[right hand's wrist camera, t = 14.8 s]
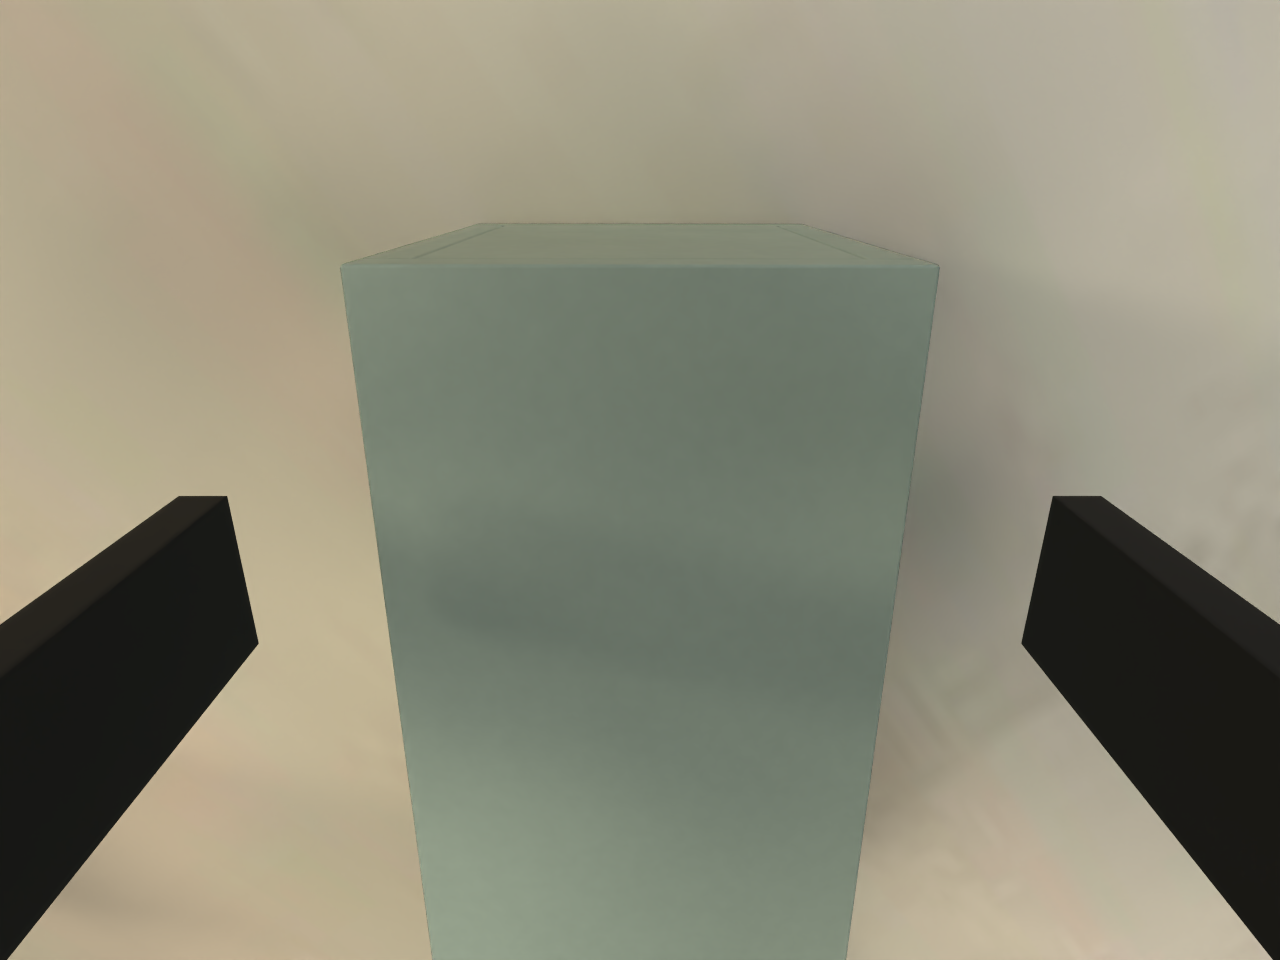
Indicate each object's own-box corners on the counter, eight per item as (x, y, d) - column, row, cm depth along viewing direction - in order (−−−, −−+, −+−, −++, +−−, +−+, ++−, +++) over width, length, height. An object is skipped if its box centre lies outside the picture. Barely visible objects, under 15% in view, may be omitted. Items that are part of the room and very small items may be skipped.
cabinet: (765, 748, 31) (833, 1061, 20) (514, 748, 31) (444, 1061, 20) (803, 223, 24) (941, 264, 13) (477, 223, 24) (337, 263, 13)
